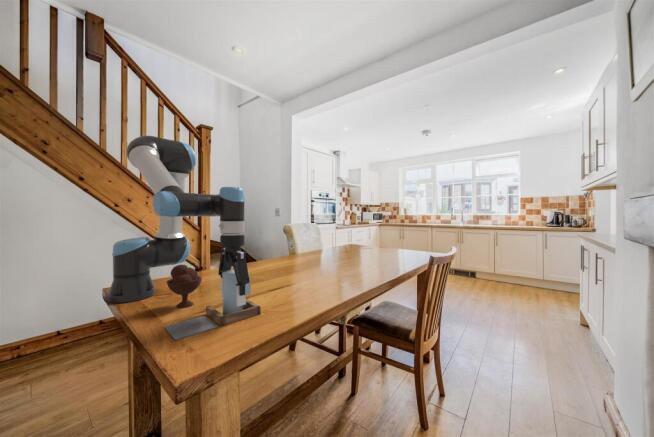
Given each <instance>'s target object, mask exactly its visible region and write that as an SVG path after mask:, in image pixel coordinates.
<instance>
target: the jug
mask: <svg viewBox="0 0 654 437" xmlns="http://www.w3.org/2000/svg"><path fill="white" fill-rule="evenodd" d="M221 279H222V284H223V298H222V314H223V315H227V314H230V313H234V312H237V311H241V310H244V307H243V305H241V306H238V307H237V306H236V284H237V279H236V275H235V272H234V269H231V270H228V271H224V272H222V278H221ZM249 281H250V282H249V283H247V284H246V297H247V296H251V275H249Z"/></svg>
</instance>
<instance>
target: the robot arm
mask: <svg viewBox="0 0 654 437" xmlns="http://www.w3.org/2000/svg"><path fill="white" fill-rule="evenodd" d="M193 148H194V147H192V146H191V145H190V144H188V143H185V142H182V141H178V140H174V139H168V138H162V137H158V136H153V135H141V136H138V137H136V138H134V139H132V140H131V141H130V142H129V143H128V144H127V147H126V153H125V154H126V157H127V159H128V161H129V163H130V164H131V166H133V167H135V168H136V169H137V170H139V171H138V172H140V174H141V175H142V177H143V179H144V181H146V183H147V184H148V186H149V188H150V189H151V191H152V193H153V194H154V195H153V197H152V198H153V199H152V207H153V212H154V214H155V215H157V216H159V222H158V224H159V225H158V231H157V232H156V233H155V234H154V238H153V239H150V237H148V236H141V237H134V238H133V237H132V238H126V239H121V240H118V241H116V242H115V243H114V244H113V246H112V253H111V254H112V274H113V276H112V279H113V280H112V283H111V285H110V287H109V290H108V293H107V302H109V303H115V304H117V303H118V304H119V303H127V302H128V303H129V302H136V301H140V300H144V299H148V298H150V297H152V296H154V295H155V294H156V287H155V283H154V282H153V280H152V277H151V273H150V272H151V271H150V270H151V269H152V268H157V267H158V268H159V267H166V266H174V265H175V266H176V265H179V264H182V263H184V262H186V260H187V259H188V258H189V255H190V253H191V244H190V243H191V242H190V240H189V238H187V237H186V234H185V232H184V231H183V218H184V217H213V218H214V217H219V224H218V227H219V234H221V235H219V240H220V242H219V243H220V244H219V245H220V247H221V248H220V257H219V264H218V274H217V275H218V276H220V278H221V281H220V282H221V283H220V284H221V299H223V284H222V272H224V271H228V270H232V267H233V270H234V272H235V275H236V279H237V284H236V306H237V307H238V306H241V305H245V304H246V297H247V296H246V284H247V283H249V282H250V283H251V280H250V281H249V276H250V275H249V270H248V263H247V253H246V251H242V249H241V247H243V246H245V245H246V242H245V233H246V232H245V231H246V230H245V226H246V225H245V224H246V223H245V200H246V199H245V193H244V189H243V188H242V187H238V186H222V187H220V189H219V193H218V194H208V193H196V192H195V193H192V192H185V185H186V184H185V182H186V178H187V177H188V176H190V172H191V171H192V172H193V171H194V169H195V167H196V165H197V164H196V163H197V158H196V153H195V150H194V149H193Z"/></svg>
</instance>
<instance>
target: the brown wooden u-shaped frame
mask: <svg viewBox="0 0 654 437" xmlns="http://www.w3.org/2000/svg"><path fill="white" fill-rule="evenodd" d="M261 312H262V311H261V305H258V304H257V303H254V302H252V301H251V300H249V299H246V304H245V305H243V310H241V311H237V312H234V313H230V314H227V315H223V313H222V312H220V311H218V310H217V309H215V308H214V307H212V306H211V305H207V306H205V314H206V316H208V317H209V318H211V319H212V320H213V321H214V322H216V323H217V324H218V325H219V326H221V327H223V326H226V325H230V324H232V323H236V322H240V321H243V320H245V319H249V318H252V317H255V316H257V315H258V316H260V315H261Z"/></svg>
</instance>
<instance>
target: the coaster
mask: <svg viewBox="0 0 654 437" xmlns="http://www.w3.org/2000/svg"><path fill="white" fill-rule="evenodd" d="M216 328H219V326H218V325H217V324H216V323H215V322H213V321H212V320H211V319H209V318H208V317H207V315H206V316H205V315H201V316H197V317H195V318H191V319H187V320H184V321H183V320H182V321H179V322H176V323H172V324H167V325H165V326H164V329H166V331H167V332H168V333H169V334H170V336H171V337H172V338H173V339H174V341H179V340H181V339H184V338H188V337H190V336H191V337H192V336H195V335H197V334H198V335H199V334H200V333H203V332H208V331H211V330H213V329H216Z"/></svg>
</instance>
